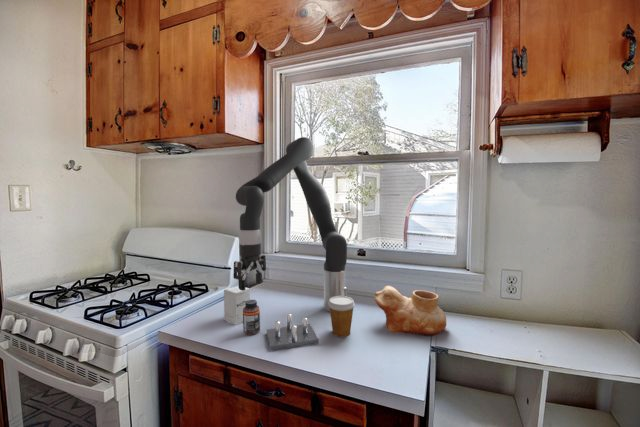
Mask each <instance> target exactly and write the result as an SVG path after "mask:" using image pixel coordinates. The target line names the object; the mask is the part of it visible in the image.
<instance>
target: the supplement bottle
mask: <svg viewBox="0 0 640 427" xmlns="http://www.w3.org/2000/svg"><path fill="white" fill-rule="evenodd" d="M242 328H243V329H242V330H243V334H245V335H247V336H248V335H249V336H253V335H255V334H258V333H260V331H261V311H260V307H259V305H258V301H257V300H256V299H250V300H247V301H246V302H245V307H244V308H243V322H242Z"/></svg>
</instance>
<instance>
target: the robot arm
mask: <svg viewBox="0 0 640 427" xmlns="http://www.w3.org/2000/svg"><path fill="white" fill-rule="evenodd" d="M285 153H286V154H284V155H283V156H281V158H278V159H277V160H276V161H274V162H273V163H271V164H270V165H269V166H267V167H266V168H265V169H264V170H262V171H261V172H260V173H259V174H258V175H257V176H256V177H254V178H252V179H251V180H249V181H247V182H245V183H244V184H242V185H241V186H240V187H239V188H238V189H237V191H236V192H235V201H236V202H237V204H239V205H241V206H244V207H245V211H244V212H243V213H241V214H240V216H239V237H238V238H239V244H238V245H239V247H238V248H239V251H238V252H239V256H240V258H241V259H240V261H233V275H232V276H233V279H234V280H238V285H239V289H240V290H242V291H244V290H245V287H246V277H247V275H249V273H250V272H252V271H255V283H256V284H259V285H260V284H262V283H263V282H262V281H263V274H264V273H263V272H266V271H267V262H266V255H265V254H262V234H261V216H262V211H263V206H264V202H265V196H264V193H268V192H270V191H271V190H272V189H274V187H276V186H277V185H278V184H279V183H280V182H281V181H282V180H283V179H284V178H285V177H287V175H288V174H290V172H292V171H294V173H295V175H296V178H297V180H298V183H299V185H300V188H301V190H302V193H303V196H304V198H305V201H306V204H307V206H308V208H309V211H310V213H311V215H312V217H313V219H314V222H315V223H316V226H317V229H318V232H319V236H320V239H321V240H320V241H321V243H322V246H323V249H325V262H324V263H323V308H324V310H325V311H327V312H330V307H329V305H328V302H329V300H330V298H332V297H335V296H347V297H348V295H347V294H348V291H347V289H348V288H347V286H346V265H347V262H348V261H347V259H348V258H347V257H348V244H347V243H348V242H347V239H346V238H345V236H343V235H342V234H340V233H339V231H338V229H337V228H336V225H335V222H334V221H333V220H334V219H333V217H332V216H333V215H332V208H331V203H330V199H329V195H328V194H327V191H326V188H325V187H324V185H323V184H322V182H320V181H319V179H317V178H316V176H314V174H312V172H311V170H310V168H309V166H308V163H307V160H309V159H311V157H313V155H314V154H315V144H314V142H313V141H312V140H311V139H310V138H309V137H306V136H302V137H298V138H296V139H295V140H293V141H291V142H289V143H288V144H287V146H286V150H285Z"/></svg>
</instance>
